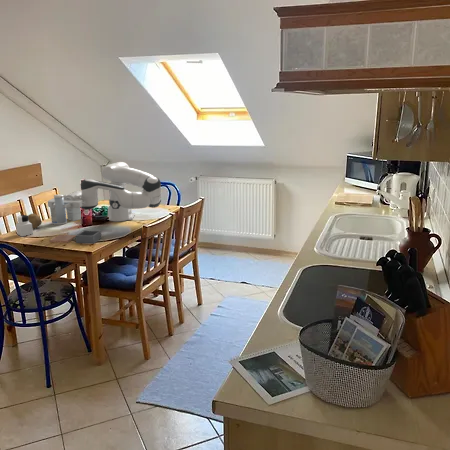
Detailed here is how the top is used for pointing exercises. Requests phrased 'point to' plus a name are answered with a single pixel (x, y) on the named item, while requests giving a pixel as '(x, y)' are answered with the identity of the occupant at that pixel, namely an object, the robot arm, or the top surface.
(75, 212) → the supplement box
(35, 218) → the natural sponge
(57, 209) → the canister
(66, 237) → the terracotta tile
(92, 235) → the parts tub
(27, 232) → the medicine bottle
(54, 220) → the supplement tub
